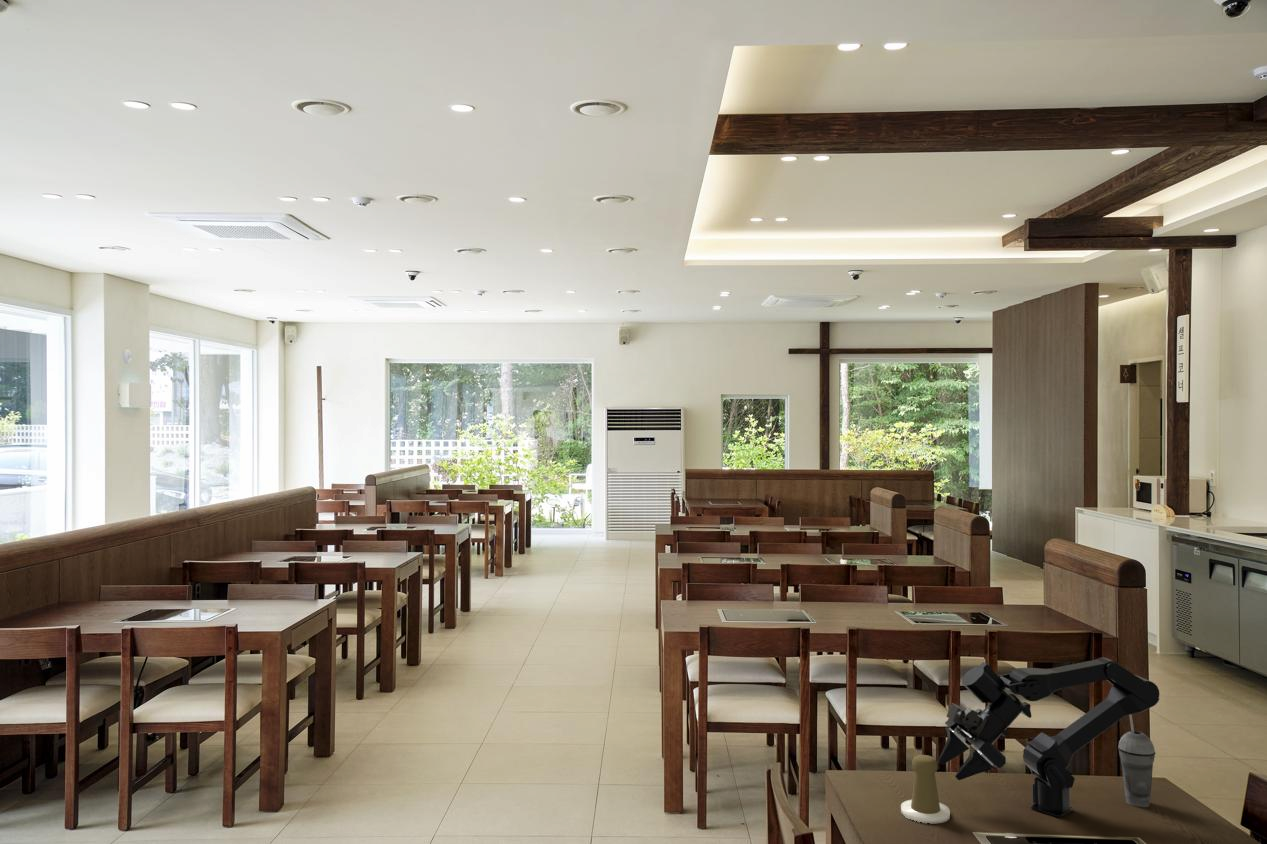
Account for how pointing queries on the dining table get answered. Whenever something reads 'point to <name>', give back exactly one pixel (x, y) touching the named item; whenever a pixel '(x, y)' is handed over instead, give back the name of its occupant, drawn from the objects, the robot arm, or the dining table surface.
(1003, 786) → the dining table surface
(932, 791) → the cork
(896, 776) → the dining table surface
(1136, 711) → the robot arm
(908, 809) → the coaster
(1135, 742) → the beverage cup
